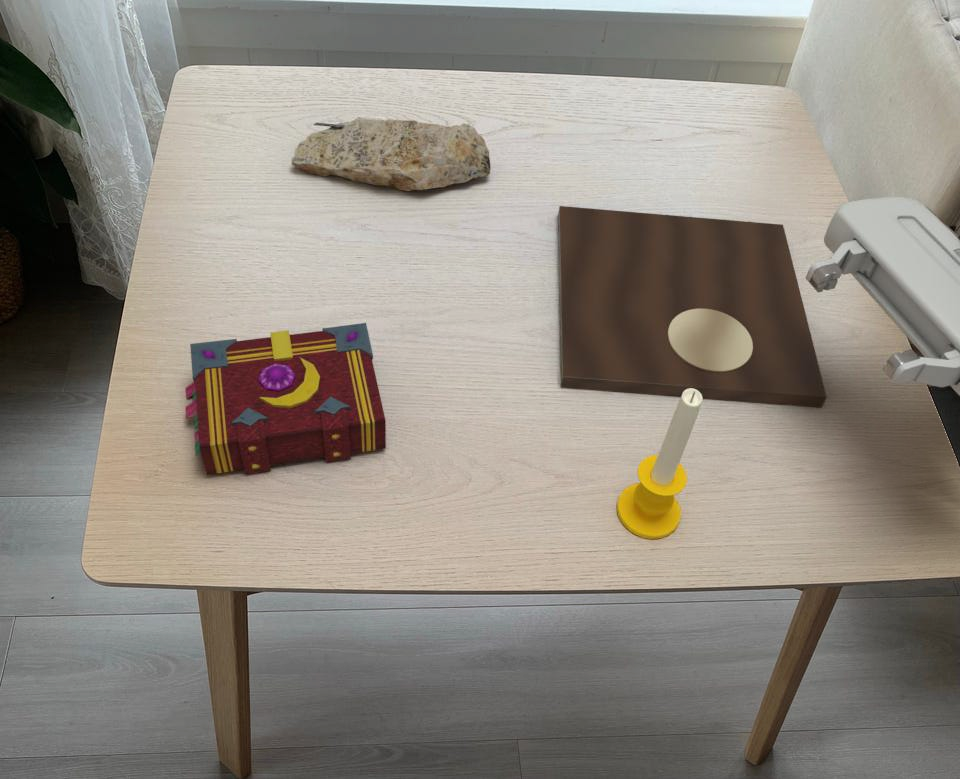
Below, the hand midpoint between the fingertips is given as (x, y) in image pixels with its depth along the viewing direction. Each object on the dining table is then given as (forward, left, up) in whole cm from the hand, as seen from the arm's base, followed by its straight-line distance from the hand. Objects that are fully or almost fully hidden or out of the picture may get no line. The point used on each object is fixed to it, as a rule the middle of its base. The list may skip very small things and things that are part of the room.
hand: (850, 322), depth 68 cm
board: (+18, -10, -19) cm, 28 cm away
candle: (+4, +11, -19) cm, 22 cm away
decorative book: (+31, +28, -19) cm, 46 cm away
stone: (+52, -1, -19) cm, 56 cm away
